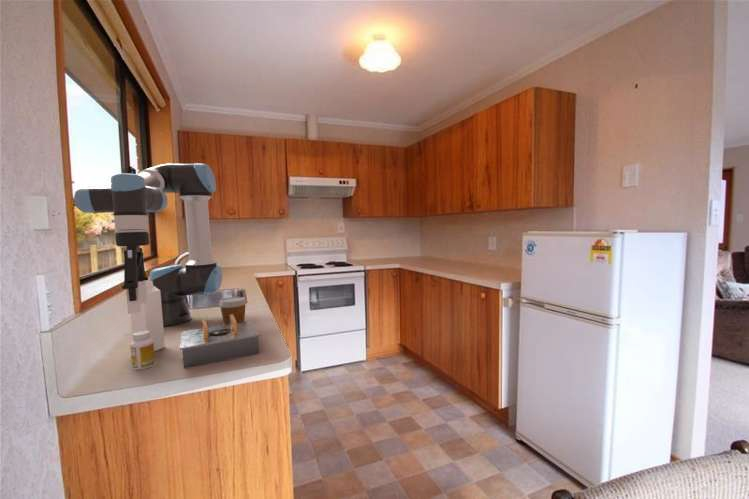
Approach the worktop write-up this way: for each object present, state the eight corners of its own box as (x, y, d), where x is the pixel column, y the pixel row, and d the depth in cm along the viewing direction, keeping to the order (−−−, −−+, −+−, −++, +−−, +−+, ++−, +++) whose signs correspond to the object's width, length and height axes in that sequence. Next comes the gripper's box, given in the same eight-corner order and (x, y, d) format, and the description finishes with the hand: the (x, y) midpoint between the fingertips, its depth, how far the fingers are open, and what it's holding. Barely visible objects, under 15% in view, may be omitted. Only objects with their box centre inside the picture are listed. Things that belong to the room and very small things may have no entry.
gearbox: (183, 349, 108) (180, 319, 107) (252, 337, 118) (250, 309, 117) (181, 369, 93) (178, 333, 92) (261, 353, 103) (259, 321, 102)
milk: (133, 352, 107) (127, 283, 105) (151, 345, 113) (145, 280, 111) (148, 354, 105) (142, 284, 104) (165, 347, 111) (159, 280, 109)
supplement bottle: (158, 361, 99) (155, 329, 98) (150, 369, 94) (147, 334, 93) (137, 363, 98) (134, 330, 97) (128, 371, 93) (125, 336, 92)
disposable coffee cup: (226, 328, 130) (223, 297, 129) (251, 326, 131) (249, 295, 130) (216, 336, 121) (214, 303, 120) (244, 334, 121) (242, 301, 120)
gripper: (123, 232, 102) (129, 301, 104) (104, 231, 80) (112, 320, 82) (153, 231, 106) (158, 298, 107) (142, 230, 84) (149, 315, 85)
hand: (138, 307), depth 94 cm, fingers open, 13 cm apart
